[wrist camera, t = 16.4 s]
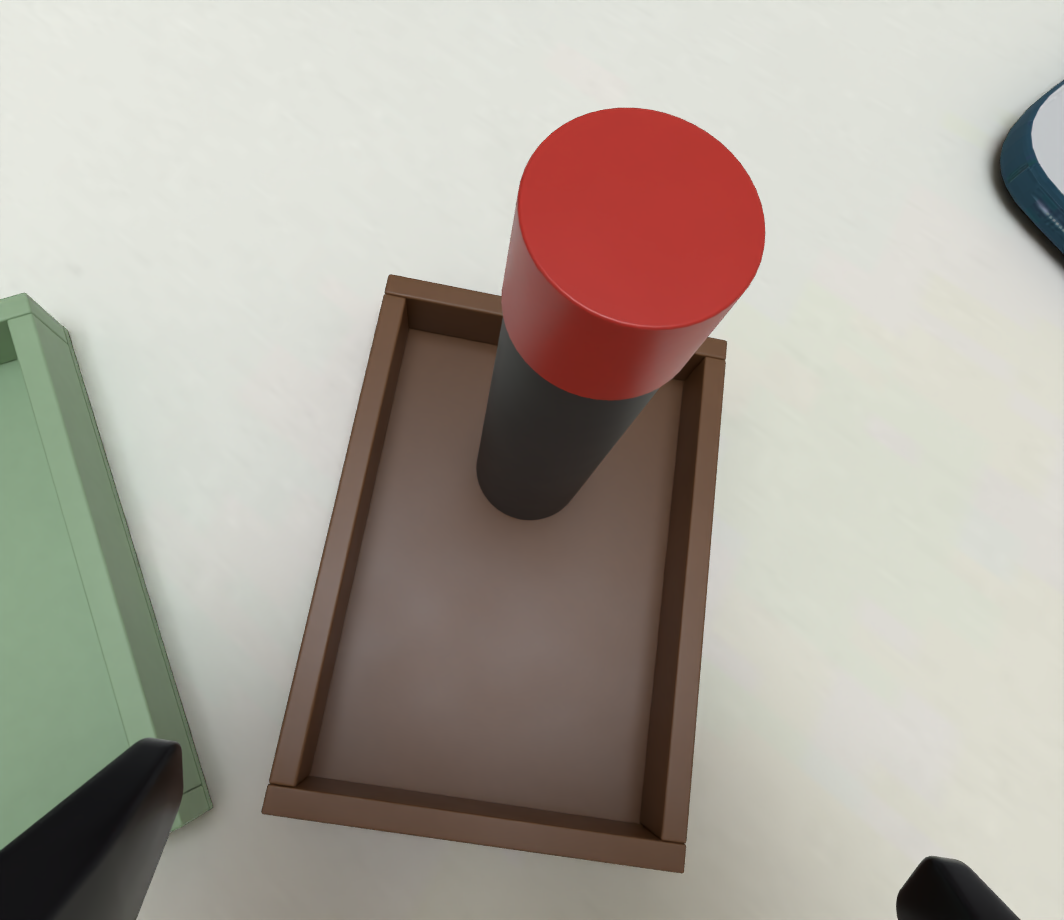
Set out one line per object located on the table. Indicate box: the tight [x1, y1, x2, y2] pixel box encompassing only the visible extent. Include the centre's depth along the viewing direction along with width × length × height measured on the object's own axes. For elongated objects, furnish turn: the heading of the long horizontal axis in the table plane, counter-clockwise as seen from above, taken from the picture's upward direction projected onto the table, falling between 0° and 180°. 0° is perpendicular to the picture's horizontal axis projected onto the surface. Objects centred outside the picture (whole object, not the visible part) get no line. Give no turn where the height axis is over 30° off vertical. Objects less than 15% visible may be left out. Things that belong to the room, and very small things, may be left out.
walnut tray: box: [261, 274, 727, 873], centre depth 22 cm, size 15×11×2 cm
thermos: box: [476, 108, 765, 520], centre depth 17 cm, size 4×4×14 cm
